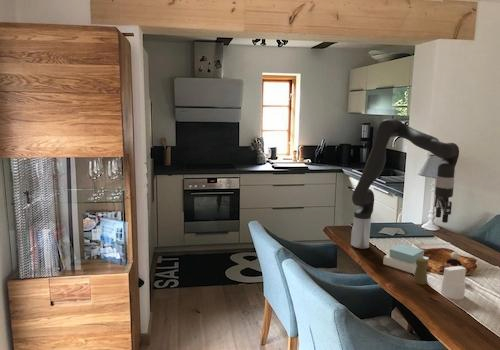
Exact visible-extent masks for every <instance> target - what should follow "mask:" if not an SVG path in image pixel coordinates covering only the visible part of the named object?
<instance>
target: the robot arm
mask: <svg viewBox="0 0 500 350" xmlns="http://www.w3.org/2000/svg"><path fill="white" fill-rule="evenodd" d="M393 137H396V138H397V137H399V138H402V139H405V140H407V141H409V142H411V143H412V144H413V145H414V146H416V147H418V148H420V149H423V150H425V151H427V152H430V153H431V154H432V155H434V156H435V157H437V158H440V159H442V160H441V162H440V164H438V166H437V174H436V175H437V176H436V180H435V189H434V191H435V192H434V195H435V198H434V204H433V205H434V207H435V217H436V218H441V217H442V220H441V222H442V223H445V224H447V223H448V222H449V215H451V214H452V207H453V206H452V205H453V204H452V203H453V202H452V201H450V200H449V199H450V198H453V196H454V187H455V186H454V185H455V173H456V171H455V168H456V165H457V163H458V160H459V157H460V148H459V146H458V145H457V144H456V143H454V142H443V141H440V140H439V139H438V138H437V137H435V136H432V135H430V134H428V133H427V134H426V133H424V132H422V131H420V130H418V129H414V127H411V126H409V125H407V124H406V123H404V122H402V121H400V120H399V119H396V118H388V119H386V118H385V119H383V120H381V122H380V123H378V126H377V130H376V133H375V137H374V140H373V144H372V147H371V150H370V153H369V155H368V158H367V160H366V162H365V166H364V168H363V170H362V173H361V175H360V177H359V181H358V182H357V185H356V187H355V188H354V190H353V192H352V195H351V201H352V203H353V204H354V205H355V206H357V207H358V208H357V209H356V210H355V211H354V213H353V227H352V228H351V232H350V233H351V235H350V236H351V237H350V246H351V247H352V246H353V247H354V248H357V249H362V250H363V249H369V248H370V237H371V236H370V234H371V224H372V223H371V222H372V214H373V213H374V205H375V193H374V192H373V190H372V189H371V186H372V184H373V183H374V182H375V181H376V180H378V178H379V176H380V175H382V172H383V170H384V168H385V165H386V162H387V153H386V150H387V146H388V144H389V141H390V139H391V138H393Z"/></svg>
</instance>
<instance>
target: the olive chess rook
mask: <svg viewBox="0 0 500 350" xmlns="http://www.w3.org/2000/svg"><path fill="white" fill-rule="evenodd" d="M416 265H417V267H416V271H415V273H414V274H413V275H414V276H413V278H412V279H413V280H412V281H413V282H414V283H415V284H417V285H422V286H423V285H427V284H428V272H427V270H428V269H427V267H428V266H429V263H428V261H427V260H426V259H424V258H418V259H417V260H416Z"/></svg>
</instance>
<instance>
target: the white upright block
mask: <svg viewBox="0 0 500 350" xmlns="http://www.w3.org/2000/svg"><path fill="white" fill-rule="evenodd" d="M466 272H467V268H466V267H464V266H463V265H462V266H459V265H458V266H455V267H450V266H448V267H447V266H446V267H444V269H443V276H442V278H441V287H440V294H441V295H442V296H443V297H446V298H447V299H450V298H452V299H451V300H457V299H459V300H463V299H464V298H465V291H466V282H465V279H466Z"/></svg>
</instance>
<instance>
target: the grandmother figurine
mask: <svg viewBox="0 0 500 350" xmlns="http://www.w3.org/2000/svg"><path fill="white" fill-rule="evenodd" d="M450 257H451V258H450V259H447V260H446V261H445V262H444V264H443V265H444V266H446V267H447V265H449V267H455V266H462V267H463V264H462V263H461V261H460V260H458V258H459V253H458V252H457V251H452V252H451V253H450Z"/></svg>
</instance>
